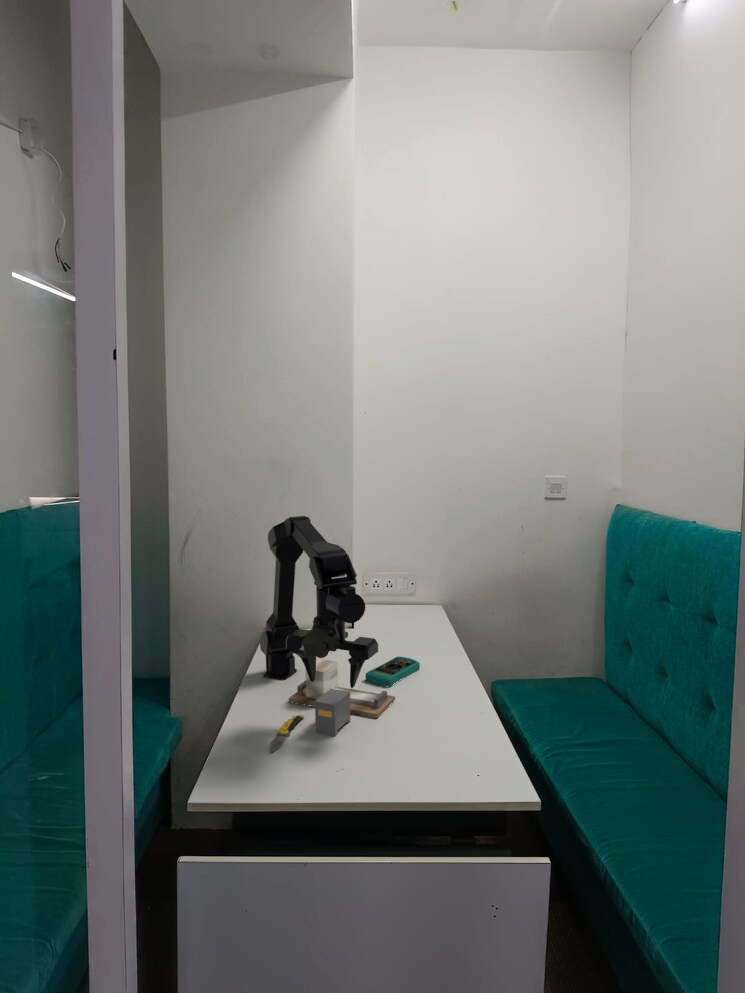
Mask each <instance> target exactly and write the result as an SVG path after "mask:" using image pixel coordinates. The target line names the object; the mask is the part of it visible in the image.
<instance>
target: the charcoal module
mask: <svg viewBox="0 0 745 993" xmlns="http://www.w3.org/2000/svg"><path fill="white" fill-rule="evenodd" d="M314 716H315V717H314V718H315V719H314V722H315V724H314V725H315V733H316V734H322V735H325V736H326V735H327V736H331V737H337V735H338V731H339V730H340V729H341V728H342V727H343V726H344V725H345V724H347V725H348V724H350V723H351V714H350V692H348V691H342V690H336V689H330V690H329V691H327V692H326V693H325V694H324V695H322V696H321V697H320V698H319V699H317V700H316V701H315V707H314Z"/></svg>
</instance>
